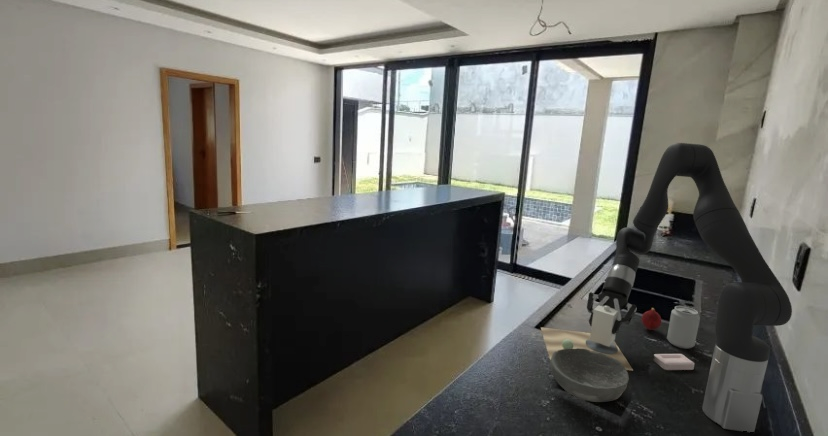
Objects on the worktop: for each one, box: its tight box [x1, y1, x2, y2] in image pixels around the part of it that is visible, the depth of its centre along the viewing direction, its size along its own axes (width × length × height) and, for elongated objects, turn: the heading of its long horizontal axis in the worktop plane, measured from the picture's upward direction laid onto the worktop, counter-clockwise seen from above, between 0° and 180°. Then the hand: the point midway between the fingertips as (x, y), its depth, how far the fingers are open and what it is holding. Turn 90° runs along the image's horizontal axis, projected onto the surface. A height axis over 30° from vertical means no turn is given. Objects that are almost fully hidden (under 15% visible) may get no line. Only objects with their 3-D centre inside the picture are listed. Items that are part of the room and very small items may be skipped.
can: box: [666, 305, 701, 349], centre depth 122 cm, size 8×8×12 cm
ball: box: [562, 339, 574, 349], centre depth 114 cm, size 3×3×3 cm
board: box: [540, 326, 634, 372], centre depth 117 cm, size 20×22×2 cm
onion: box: [641, 307, 662, 331], centre depth 132 cm, size 6×6×8 cm
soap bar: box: [652, 353, 695, 371], centre depth 111 cm, size 5×9×2 cm, turn 95°
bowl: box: [550, 348, 630, 403], centre depth 96 cm, size 18×18×8 cm
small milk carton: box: [589, 305, 618, 347], centre depth 116 cm, size 6×6×11 cm
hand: (602, 329), depth 115 cm, fingers closed on small milk carton, 5 cm apart
